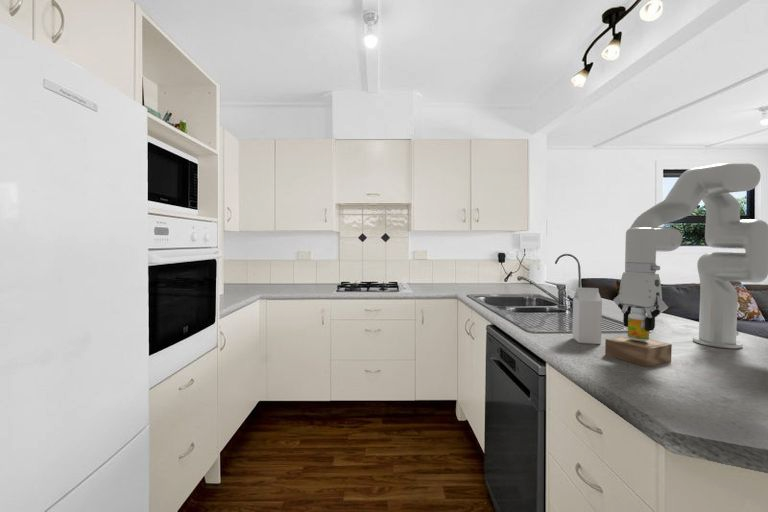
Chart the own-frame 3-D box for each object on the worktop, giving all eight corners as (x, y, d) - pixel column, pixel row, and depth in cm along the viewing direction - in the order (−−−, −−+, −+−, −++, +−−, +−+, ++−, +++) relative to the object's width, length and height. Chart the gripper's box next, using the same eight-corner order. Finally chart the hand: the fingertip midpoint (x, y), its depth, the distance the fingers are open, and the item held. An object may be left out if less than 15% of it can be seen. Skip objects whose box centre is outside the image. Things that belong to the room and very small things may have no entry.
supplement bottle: (623, 336, 112) (623, 305, 112) (639, 336, 113) (640, 305, 112) (636, 341, 107) (637, 309, 106) (653, 341, 107) (654, 308, 107)
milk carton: (601, 344, 124) (602, 289, 123) (578, 343, 126) (579, 289, 125) (593, 339, 131) (594, 287, 130) (572, 338, 133) (573, 286, 132)
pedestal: (629, 350, 118) (629, 334, 118) (671, 361, 107) (671, 344, 107) (605, 354, 113) (605, 338, 113) (646, 366, 102) (647, 349, 102)
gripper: (680, 270, 103) (678, 333, 103) (619, 266, 118) (618, 321, 119) (664, 271, 99) (662, 336, 100) (604, 267, 115) (603, 323, 116)
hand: (638, 327), depth 110 cm, fingers closed on supplement bottle, 5 cm apart
